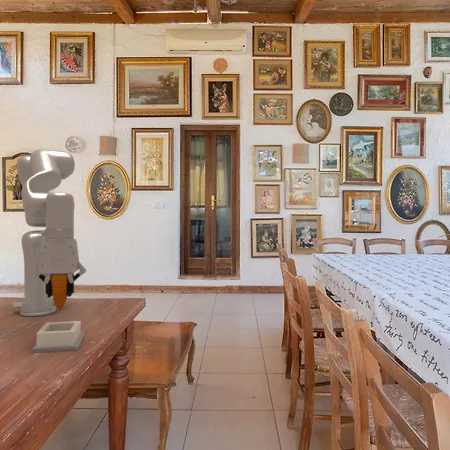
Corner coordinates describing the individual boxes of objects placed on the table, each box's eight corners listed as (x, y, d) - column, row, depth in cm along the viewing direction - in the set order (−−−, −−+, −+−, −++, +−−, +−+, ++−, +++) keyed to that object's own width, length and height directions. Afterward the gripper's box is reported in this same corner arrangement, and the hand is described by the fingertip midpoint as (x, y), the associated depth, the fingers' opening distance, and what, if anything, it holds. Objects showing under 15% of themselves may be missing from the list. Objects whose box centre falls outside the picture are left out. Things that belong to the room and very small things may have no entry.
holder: (31, 352, 100) (31, 334, 99) (43, 337, 111) (43, 321, 111) (77, 349, 102) (77, 332, 102) (84, 335, 114) (84, 319, 114)
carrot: (73, 308, 108) (72, 259, 107) (60, 313, 103) (60, 261, 103) (59, 307, 109) (59, 258, 109) (47, 311, 105) (46, 260, 104)
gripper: (24, 235, 100) (24, 300, 101) (88, 235, 104) (88, 298, 104) (32, 234, 107) (32, 294, 108) (92, 234, 111) (92, 292, 112)
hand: (60, 295), depth 106 cm, fingers closed on carrot, 4 cm apart
